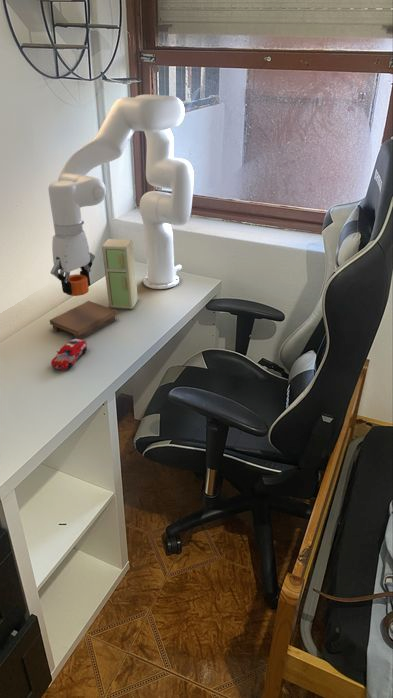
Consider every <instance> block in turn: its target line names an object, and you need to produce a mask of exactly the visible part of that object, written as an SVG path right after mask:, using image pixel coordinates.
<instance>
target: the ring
mask: <svg viewBox="0 0 393 698" xmlns="http://www.w3.org/2000/svg"><path fill="white" fill-rule="evenodd" d="M68 281H70V282H71V289H72V294H71V295H69V294H66V295H68V296H69V297H80V296H84V295H86V294H87V293H89V291H90V290H89V289H90V288H89V286H88V280H87V277H86V276H85V275H81V274H80V273H78V274H77V273H75V274H70V275H69V280H68Z"/></svg>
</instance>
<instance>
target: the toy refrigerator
mask: <svg viewBox="0 0 393 698" xmlns="http://www.w3.org/2000/svg"><path fill="white" fill-rule="evenodd" d="M133 243H134V242H133V239H127V238H125V239H124V238H123V239H122V238H108V239H107V240H106V241H105V242H104V243H103V244H102V245H101V250H102V259H103V260H102V261H103V267H104V275H105V283H106V291H107V292H106V293H107V299H108V308H111V309H127V310H133V309H134V307H135V306H136V304H137V302H138V300H139V298H138V288H137V287H138V286H137V275H136V267H135V266H136V265H135V256H134V255H135V253H134V248H133V247H134V245H133Z"/></svg>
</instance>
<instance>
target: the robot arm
mask: <svg viewBox="0 0 393 698" xmlns="http://www.w3.org/2000/svg"><path fill="white" fill-rule="evenodd" d="M184 117H185V106H184V103H183V102H182V100H181V99H180V98H179V97H178V96H176V95H175V96H174V95H165V94H164V95H162V94H148V93H147V94H138V95H136V96H135V97H130V96H123V97H119V98H118V99H116V100H115V101H114V102H113V104H112V105H111V108H110V109H109V110H108V113H107V114H106V116H105V118H104V120H103V122H102V124H101V126H100V127H99V129H98V131H97V133H96V135H95V136H94V138H92V139H91V140H90V141H88V142H87V143H85V144H84V145H82V146H81V147H80V148H79V149H78V150H76V151H75V152H74V153H73V154H72V155H71V156H70V157H69V158H68V160H67V161H66V162H65V164H64V165H63V167H62V169H61V171H60V173H59V176H58V178H57V181H53V182H51V183H50V184H49V185H48V188H47V189H48V198H49V203H50V210H51V216H52V223H53V230H54V235H53V236H52V243H51V245H52V247H51V249H52V251H51V252H52V262H53V266H52V268H51V270H50V274H51V275H52V276H54V277H55V278H56V279H58V280H59V281H60V283H61V288H62V289H61V290H62V292H63V293H64V294H65V295H67V294H69V295H68V296H70V295H71V294H72V289H71V282H70V281H68V280H69V276H70V275H71V272H72V271H75V270H78V269H80V271H79V274H81V275H85V276H86V277H87V280H88V287H91V279H90V273H91V268H92V266H93V263H94V260H95V259H96V256H95V254H93V253H92V252H91V251H90V247H89V246H90V245H89V242H88V238H87V235H86V233H85V230H84V228H83V225H84V224H85V222H84V220H83V219H82V213H81V208H84V207H93V206H97V205H99V204H101V203H102V202H103V201H104V200H105V198H106V196H107V187H106V185H105V183H104V181H102V180H101V179H99V178H98V177H94V176H91V175H90V176H89V175H88V174H89V172H91V171H93V169H95V168H97V167H99V166H102V165H104V164H107V163H110V162H113V161H115V160H117V159H119V158H120V157H122V155H123V154H124V152H125V150H126V148H127V145H128V144H129V142H130V141H131V138H132V137H133V135H134V133H135V132H137V131H138V132H143V133H144V135H145V139H146V140H145V141H146V157H145V179H146V182H147V183H148V184H149V185H150V186H152V187H155V188H161V189H167V190H171V193H170V192H165V191H160V190H159V191H158V190H157V191H156V190H151V191H147V192H145V193H144V194H143V195H142V196H141V198H140V201H139V213H140V216H141V220H142V224H143V231H144V242H145V243H144V244H145V257H146V258H145V260H146V272H147V273H146V274H147V275H146V276H145V277H143V279H142V280H143V285H144V286H146V288H150V289H153V290H166V289H170V288H174V287H176V286H177V285H178V284H179V283H180V277H179V276H178V275H177V273H178V272H179V271H181V270H182V269H183V267H182V265H181V264H177V265H175V252H174V251H175V249H174V247H175V246H174V233H173V228H172V226H178V227H181V226H185V225H186V224H187V223H188V222H189V220H190V218H191V215H192V207H193V196H194V195H193V194H194V184H195V181H194V180H195V174H194V169H193V166H192V164H191V163H190V161H188V160H186V159H184V158H180V157H179V158H178V157H175V156H174V153H175V152H174V151H175V150H174V148H175V147H174V145H175V142H174V141H175V140H174V136H173V132H172V131H171V129H175V128H177V127H179V126H180V125H181V124H182V122H183V120H184Z"/></svg>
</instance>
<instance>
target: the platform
mask: <svg viewBox="0 0 393 698" xmlns="http://www.w3.org/2000/svg"><path fill="white" fill-rule="evenodd" d="M117 314H118V312H117V309H115V308H110V307H109V306H105V305H102V304H99V303H96V302H94V301H91V300H87V301H85V302H83V303H81V304H79V305H77V306H75V307H73V308H70V309H69V310H66V311H65V312H63V313H61V314H58V315H57V316H55V317H53V318H51V319H49V324H50V326H51V327H52V331H54V332H60V331H62V330H63V331H65V332H68V333H70V334H72V335H74V339H81V340H84V339H86V338H88V337H90V336H91V335H93V334H95V333H97V332H98V331H100V330H102V329H104V328H106V327H107V326H110V325H111V324H113V323H114V322H116V321H117V317H116V316H117Z"/></svg>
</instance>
